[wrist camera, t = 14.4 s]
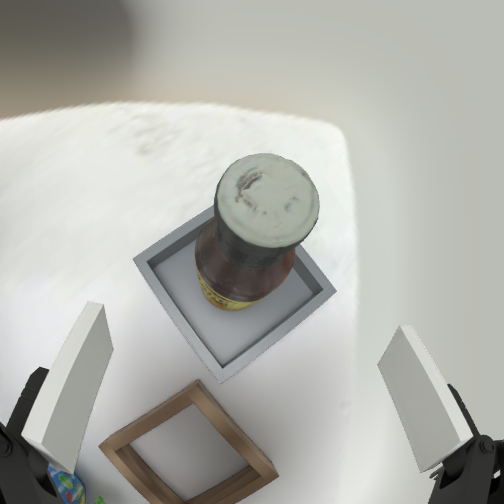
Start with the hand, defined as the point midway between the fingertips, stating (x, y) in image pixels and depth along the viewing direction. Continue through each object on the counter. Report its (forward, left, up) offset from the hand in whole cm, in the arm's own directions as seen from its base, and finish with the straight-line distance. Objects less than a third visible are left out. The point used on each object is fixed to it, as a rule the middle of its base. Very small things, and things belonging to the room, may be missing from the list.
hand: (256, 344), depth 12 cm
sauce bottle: (-5, +3, -17) cm, 18 cm away
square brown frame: (+7, -11, -18) cm, 22 cm away
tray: (-5, +4, -18) cm, 19 cm away
